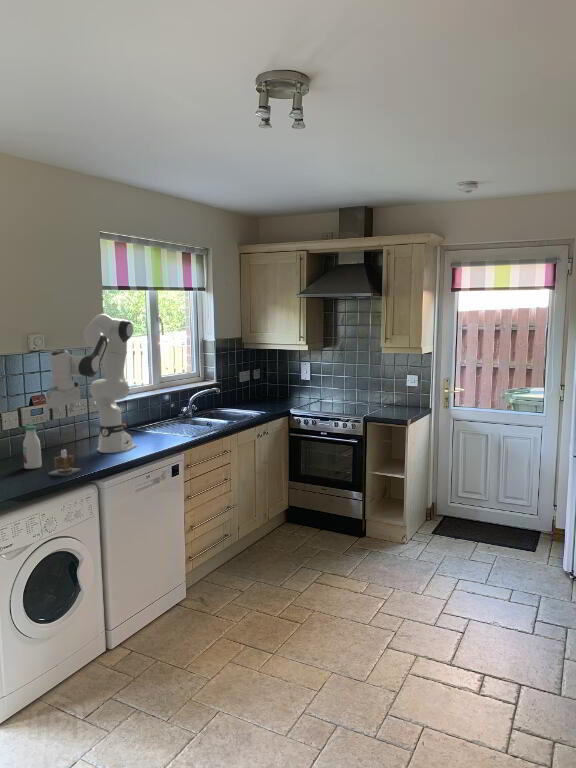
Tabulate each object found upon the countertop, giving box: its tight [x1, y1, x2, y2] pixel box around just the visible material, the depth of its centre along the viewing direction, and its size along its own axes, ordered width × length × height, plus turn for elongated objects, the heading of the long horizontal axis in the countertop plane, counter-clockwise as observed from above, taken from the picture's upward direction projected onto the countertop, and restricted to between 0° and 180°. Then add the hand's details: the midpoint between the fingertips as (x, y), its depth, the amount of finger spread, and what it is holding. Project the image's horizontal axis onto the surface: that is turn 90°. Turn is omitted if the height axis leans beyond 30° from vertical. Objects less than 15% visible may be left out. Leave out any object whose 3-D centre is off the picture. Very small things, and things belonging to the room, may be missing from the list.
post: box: [48, 449, 82, 477], centre depth 263 cm, size 10×10×10 cm
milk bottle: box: [22, 425, 43, 470], centre depth 275 cm, size 8×8×20 cm
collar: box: [53, 454, 75, 470], centre depth 263 cm, size 6×6×5 cm
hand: (64, 414), depth 266 cm, fingers open, 8 cm apart
